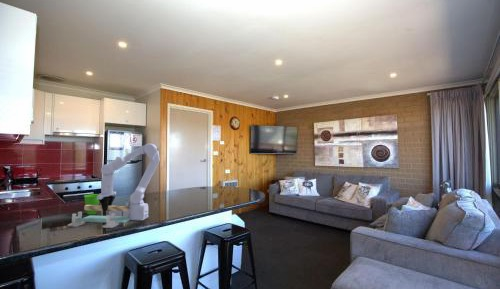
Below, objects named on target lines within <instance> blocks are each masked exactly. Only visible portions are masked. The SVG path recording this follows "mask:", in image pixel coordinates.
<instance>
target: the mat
mask: <svg viewBox="0 0 500 289" xmlns="http://www.w3.org/2000/svg"><path fill="white" fill-rule="evenodd" d="M106 219H107V215H88V216H85V217H82V221H85V222H86V223H104V224H106ZM129 219H130V216H119V215H118V216H116V215H115V222H116V223H119V224H125V223H127V222H129V221H130V220H129Z"/></svg>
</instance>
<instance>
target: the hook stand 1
mask: <svg viewBox="0 0 500 289" xmlns="http://www.w3.org/2000/svg"><path fill="white" fill-rule="evenodd" d="M82 216H83V211H78V212H77V213H72V214H71V223H69V224H67V227H72V228H78V227H80V226H82V225H85V224H86V223H87V222H85V221H82V218H83V217H82Z"/></svg>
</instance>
